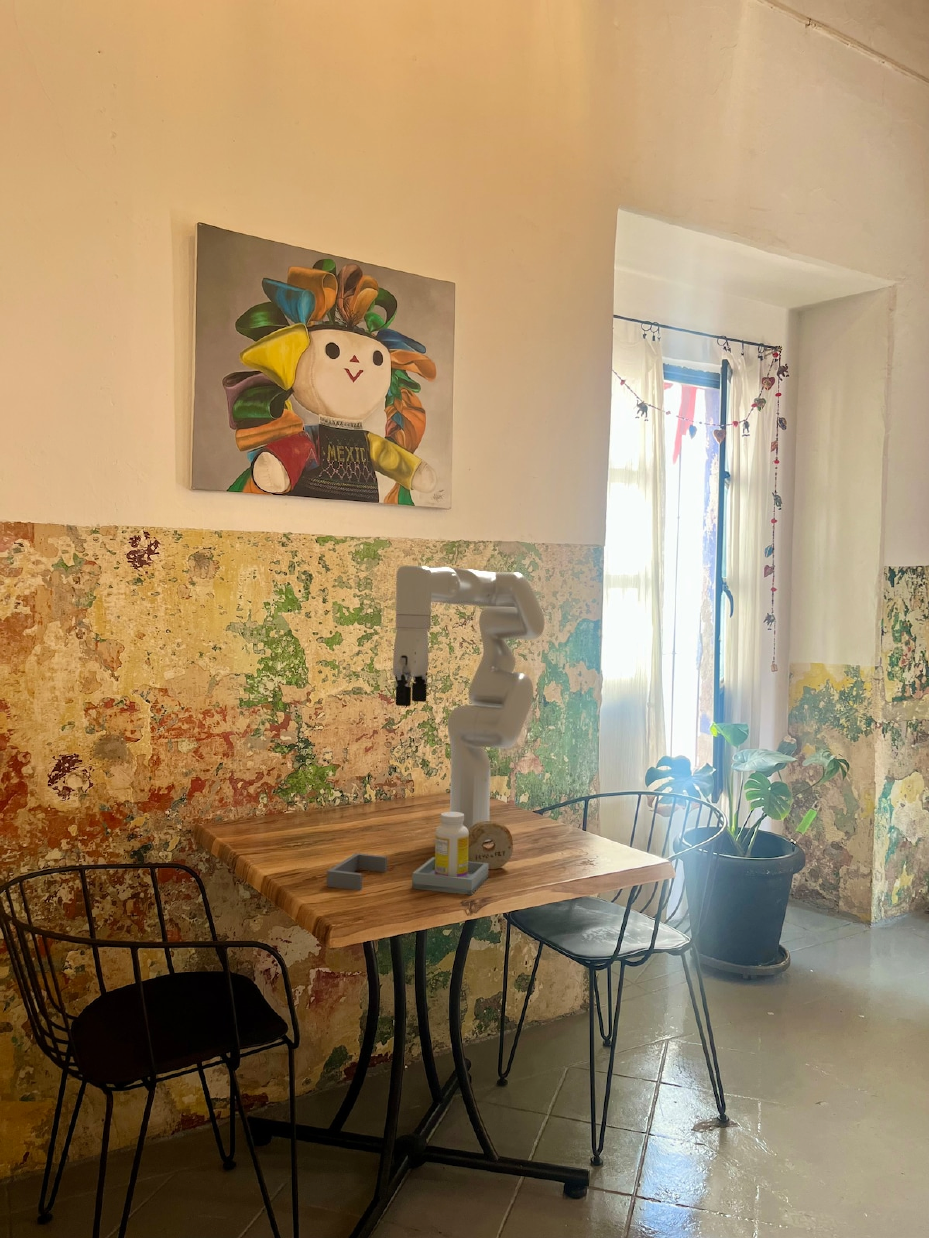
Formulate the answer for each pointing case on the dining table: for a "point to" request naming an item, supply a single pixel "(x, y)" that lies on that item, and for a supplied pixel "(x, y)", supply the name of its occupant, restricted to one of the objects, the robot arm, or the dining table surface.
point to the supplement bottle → (451, 846)
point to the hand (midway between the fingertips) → (411, 703)
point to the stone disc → (500, 849)
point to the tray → (450, 878)
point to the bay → (344, 871)
